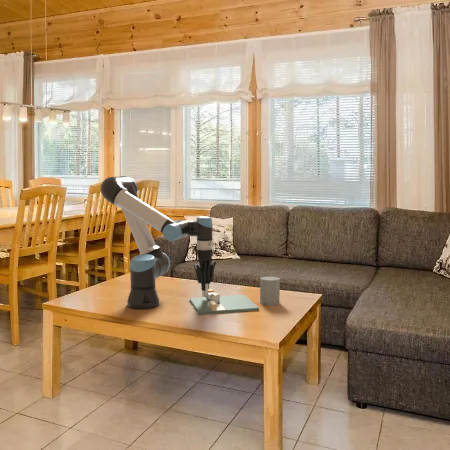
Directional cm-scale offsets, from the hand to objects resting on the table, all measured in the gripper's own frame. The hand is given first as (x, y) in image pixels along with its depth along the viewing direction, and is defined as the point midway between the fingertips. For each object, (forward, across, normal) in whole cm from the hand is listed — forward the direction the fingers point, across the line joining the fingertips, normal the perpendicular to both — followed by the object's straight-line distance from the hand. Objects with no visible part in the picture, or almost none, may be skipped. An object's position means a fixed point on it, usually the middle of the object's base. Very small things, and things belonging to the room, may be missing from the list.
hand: (205, 296), depth 239 cm
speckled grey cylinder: (+3, +21, -23) cm, 31 cm away
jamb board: (+3, +2, -10) cm, 10 cm away
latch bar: (+1, +2, -4) cm, 4 cm away
